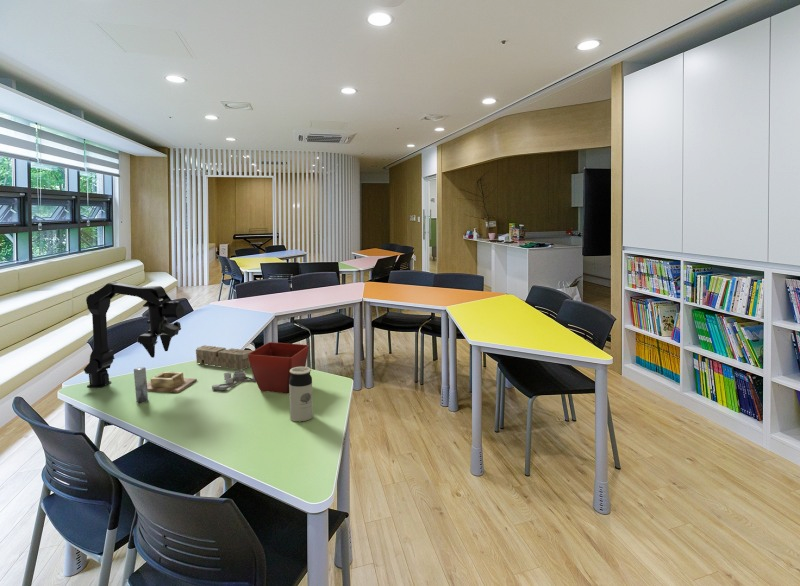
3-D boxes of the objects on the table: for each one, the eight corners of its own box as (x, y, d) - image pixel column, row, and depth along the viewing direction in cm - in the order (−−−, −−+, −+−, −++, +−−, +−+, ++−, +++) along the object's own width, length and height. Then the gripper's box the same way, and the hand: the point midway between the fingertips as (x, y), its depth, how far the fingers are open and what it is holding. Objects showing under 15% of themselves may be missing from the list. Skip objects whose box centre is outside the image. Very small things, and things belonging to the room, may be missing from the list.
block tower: (194, 365, 230) (244, 370, 220) (192, 349, 228) (242, 353, 219) (206, 361, 237) (254, 365, 227) (204, 345, 236) (253, 349, 226)
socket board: (137, 390, 193) (136, 380, 193) (158, 379, 207) (157, 369, 206) (178, 392, 192) (177, 382, 191) (196, 380, 205) (196, 371, 205)
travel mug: (288, 415, 171) (286, 367, 168) (309, 411, 174) (308, 365, 172) (292, 423, 164) (291, 374, 161) (315, 420, 167) (314, 371, 164)
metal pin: (134, 402, 181) (131, 370, 179) (140, 398, 185) (138, 367, 183) (143, 403, 180) (141, 370, 178) (150, 399, 184) (147, 367, 182)
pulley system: (205, 385, 203) (214, 393, 191) (205, 374, 203) (214, 382, 191) (266, 375, 219) (279, 383, 207) (266, 365, 219) (278, 372, 207)
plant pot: (292, 398, 187) (291, 357, 185) (248, 394, 191) (246, 354, 188) (310, 381, 206) (309, 344, 203) (270, 378, 210) (268, 342, 207)
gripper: (161, 323, 182) (164, 361, 184) (188, 313, 200) (190, 348, 202) (134, 322, 183) (138, 360, 185) (163, 312, 201) (166, 347, 204)
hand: (159, 354), depth 194 cm, fingers open, 9 cm apart
